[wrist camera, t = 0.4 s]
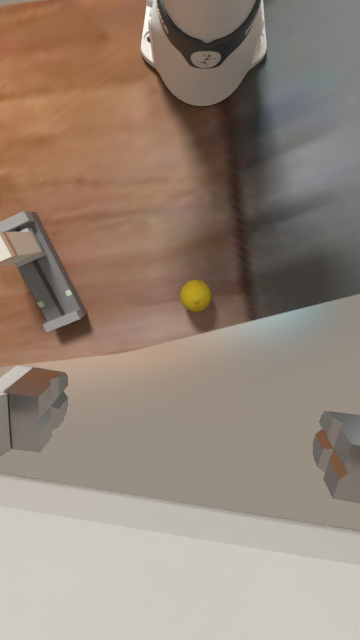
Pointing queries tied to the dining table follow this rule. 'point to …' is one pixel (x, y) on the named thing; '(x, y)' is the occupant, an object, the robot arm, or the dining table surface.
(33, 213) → the slider track
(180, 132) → the dining table surface
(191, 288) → the lemon
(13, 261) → the slider knob
